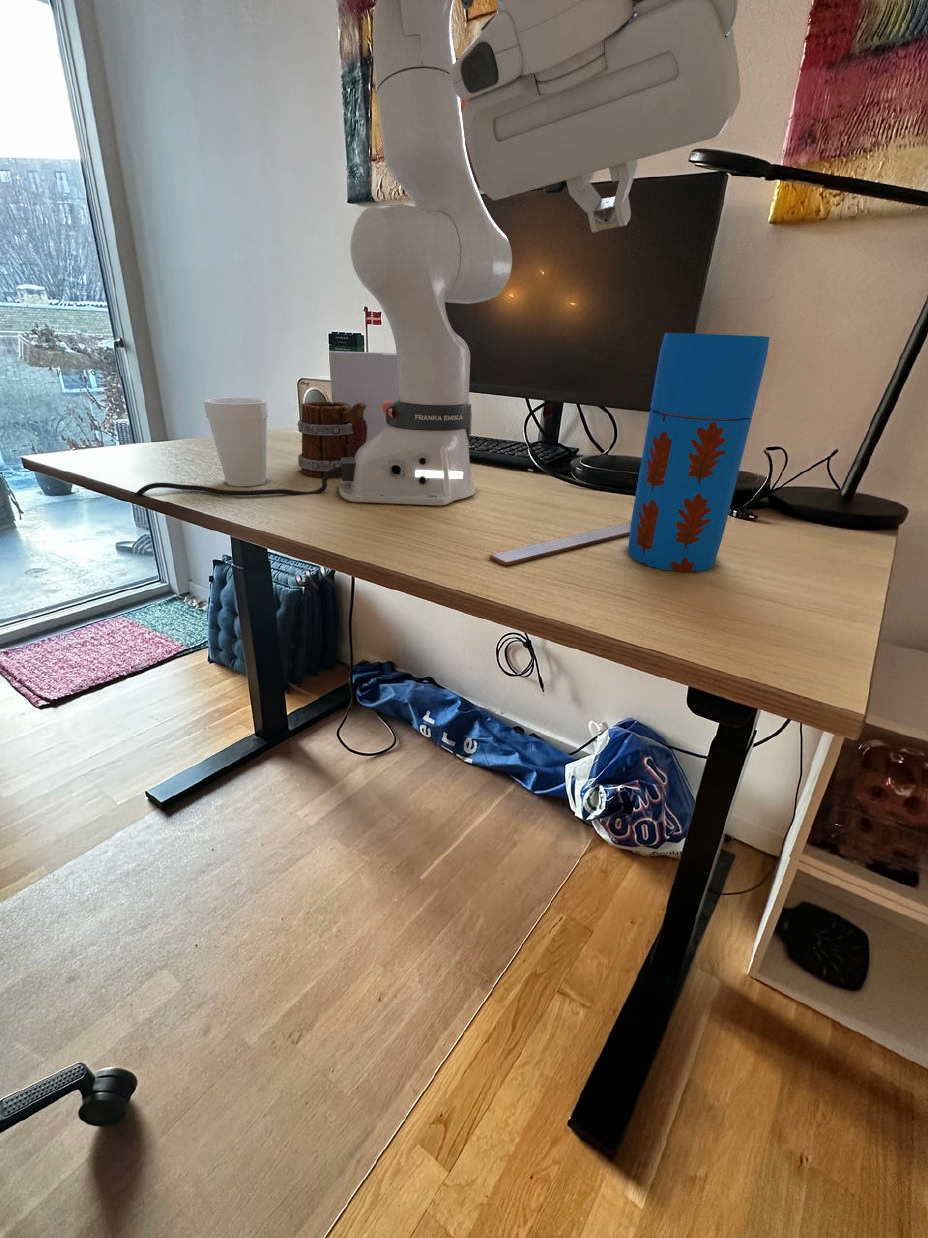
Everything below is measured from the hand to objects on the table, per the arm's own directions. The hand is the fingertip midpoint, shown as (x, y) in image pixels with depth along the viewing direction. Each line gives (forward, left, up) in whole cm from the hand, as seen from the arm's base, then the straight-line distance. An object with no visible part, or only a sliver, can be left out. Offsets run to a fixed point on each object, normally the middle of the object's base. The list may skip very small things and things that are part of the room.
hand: (611, 225), depth 49 cm
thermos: (+16, +7, -33) cm, 37 cm away
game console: (-13, +70, -33) cm, 78 cm away
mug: (-26, +55, -33) cm, 69 cm away
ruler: (+7, +14, -33) cm, 36 cm away
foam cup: (-41, +48, -33) cm, 71 cm away
